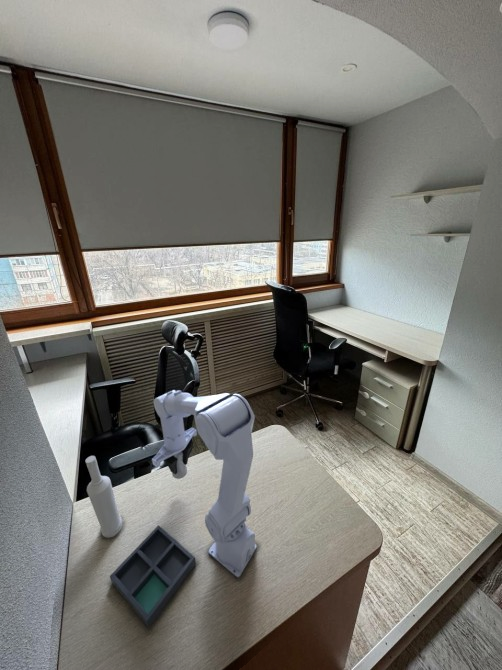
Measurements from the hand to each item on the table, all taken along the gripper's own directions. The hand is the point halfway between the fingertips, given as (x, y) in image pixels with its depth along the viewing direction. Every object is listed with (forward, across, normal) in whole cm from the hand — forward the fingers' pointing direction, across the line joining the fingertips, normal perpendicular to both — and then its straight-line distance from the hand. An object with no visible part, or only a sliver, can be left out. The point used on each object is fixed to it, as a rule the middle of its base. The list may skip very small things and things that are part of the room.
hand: (179, 467), depth 79 cm
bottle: (+10, +18, -7) cm, 22 cm away
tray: (+9, +18, +11) cm, 23 cm away
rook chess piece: (+3, 0, 0) cm, 3 cm away
